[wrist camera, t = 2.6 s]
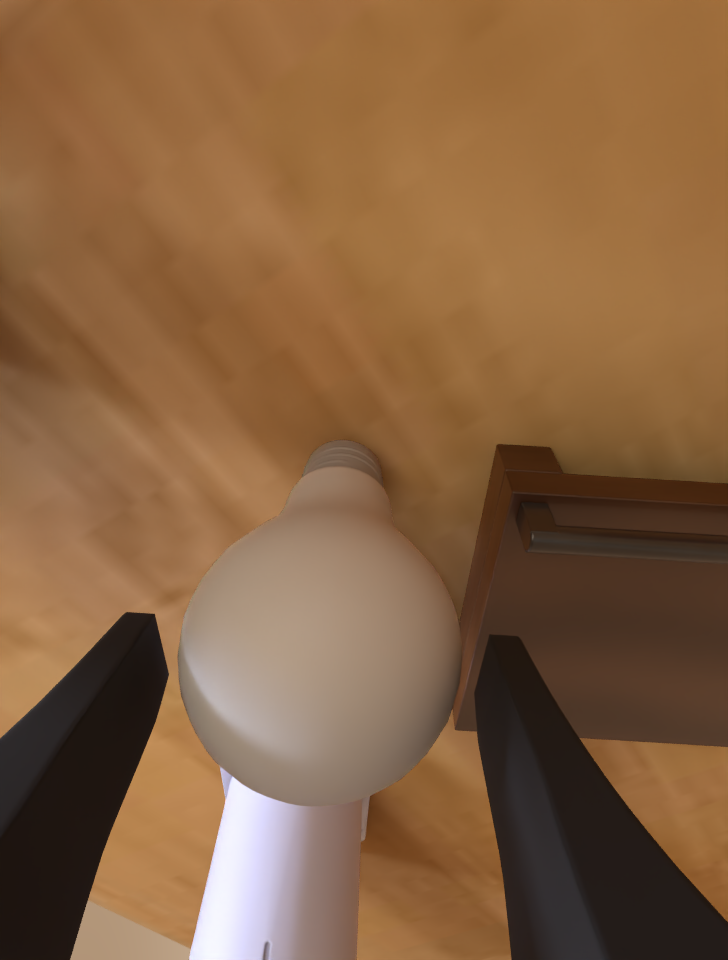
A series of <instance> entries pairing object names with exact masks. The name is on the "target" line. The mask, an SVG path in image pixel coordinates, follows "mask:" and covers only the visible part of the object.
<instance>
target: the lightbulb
mask: <svg viewBox="0 0 728 960" xmlns="http://www.w3.org/2000/svg"><path fill="white" fill-rule="evenodd" d="M461 666H462V640H461V633H460V626H459V621H458V618H457V614H456V611H455V607H454V604H453V602H452V600H451V598H450V595H449V593H448V591H447V589H446V587H445V584H444V583H443V581H442V579H441V578H440V576H439V574H438V573H437V571H436V569H435V568H434V567H433V565H432V564H431V563H430V562H429V561H428V560H427V559H426V558H425V557H424V556H423V555H422V554H421V552H420V551H419V550H418V549H417V548H416V547H415V546H414V545H413V544H412V543H411V542H410V541H409V540H408V539H407V538H406V537H405V536H404V535H403V534H402V533H401V532H399V531H398V530H397V529H396V528H395V525H394V522H393V519H392V510H391V504H390V501H389V498H388V495H387V494H386V492H385V490H384V488H383V477H382V474H381V466H380V463H379V461H378V459H377V457H376V456H375V455H374V453H373V452H372V451H371V450H369V449H368V448H367V447H365V446H364V445H362V444H360V443H357V442H354V441H349V440H335V441H331V442H327V443H325V444H323V445H321V446H320V447H318V448H317V449H316V450H315V451H314V452H313V453H312V454H311V456H310V457H309V459H308V462H307V464H306V466H305V468H304V472H303V474H302V478H301V479H300V480H299V481H298V482H297V483H296V485H295V486H294V487H293V488H292V490H291V492H290V494H289V496H288V499H287V501H286V504H285V507H284V508H283V510H282V512H281V513H280V514H279V515H278V516H276V517H274V518H272V519H270V520H268V521H266V522H265V523H263V524H262V525H260V526H259V527H257V528H256V529H254V530H253V531H251V532H250V533H248V534H247V535H245V536H244V537H242V538H241V539H239V540H238V541H236V542H235V543H233V544H232V545H230V546H229V547H228V548H227V549H226V550H225V551H224V552H223V553H222V555H221V556H220V557H219V558H218V559H217V560H216V561H215V562H214V564H213V565H212V566H211V567H210V569H209V570H208V571H207V573H206V574H205V575H204V576H203V578H202V579H201V580H200V582H199V584H198V586H197V588H196V590H195V592H194V594H193V596H192V598H191V600H190V603H189V605H188V608H187V610H186V613H185V615H184V620H183V625H182V630H181V636H180V644H179V651H178V669H179V682H180V690H181V697H182V700H183V702H184V705H185V708H186V711H187V714H188V717H189V719H190V721H191V724H192V726H193V728H194V730H195V733H196V734H197V736H198V737H199V739H200V741H201V742H202V744H203V746H204V747H205V749H206V751H207V752H208V753H209V755H210V756H211V757H212V758H213V760H214V761H215V762H216V763H217V764H218V765H219V766H220V767H222V768H223V769H224V770H225V771H226V772H228V773H229V774H230V775H231V776H233V777H234V778H235V779H236V780H238V781H239V782H240V783H241V784H243V785H244V786H246V787H248V788H249V789H251V790H253V791H255V792H257V793H259V794H261V795H264V796H266V797H269V798H272V799H275V800H278V801H281V802H285V803H288V804H294V805H299V806H310V807H312V806H329V805H338V804H345V803H349V802H353V801H358V800H360V799H363V798H366V797H368V796H371V795H373V794H375V793H377V792H379V791H381V790H383V789H385V788H386V787H388V786H390V785H392V784H393V783H395V782H397V781H399V780H400V779H402V778H403V777H404V776H405V775H406V774H407V773H408V772H409V771H411V770H412V769H413V768H414V767H415V765H416V764H417V763H418V762H419V761H420V760H421V759H422V758H423V757H424V756H425V755H426V754H427V753H428V751H429V750H430V748H431V747H432V745H433V744H434V742H435V741H436V739H437V738H438V736H439V735H440V733H441V731H442V730H443V728H444V727H445V725H446V724H447V722H448V720H449V716H450V713H451V710H452V707H453V704H454V701H455V697H456V694H457V691H458V687H459V684H460V676H461Z"/></svg>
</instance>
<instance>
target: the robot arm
mask: <svg viewBox="0 0 728 960" xmlns="http://www.w3.org/2000/svg"><path fill="white" fill-rule="evenodd" d="M168 676H169V673H168V669H167V664H166V660H165V656H164V652H163V647H162V643H161V639H160V635H159V631H158V626H157V622H156V618H155V614H147V613H131V612H126V613H125V614H124V615H122V616H121V618H120V619H119V620H118V621H117V622H116V623H115V624H114V625H113V626H112V627H111V628H110V629H109V630H108V631H107V633H106V634H105V635H104V636H103V637H102V638H101V639H100V640H99V641H98V642H97V643H96V644H95V645H94V647H93V648H92V649H91V650H90V651H89V652H88V653H87V654H86V655H85V656H84V657H83V658H82V659H81V660H80V661H79V662H78V663H77V664H76V665H75V667H74V668H73V669H72V670H71V671H70V672H69V673H68V674H67V675H66V676H65V677H64V678H63V679H62V680H61V681H60V682H59V683H58V684H57V685H56V686H55V687H54V688H53V689H52V690H51V691H50V692H49V693H48V694H47V695H46V696H45V697H44V698H43V699H42V700H41V701H40V702H39V703H38V704H37V705H36V706H35V707H34V708H32V709H31V710H30V711H29V712H28V713H27V714H26V715H25V716H24V717H23V718H22V719H21V720H20V721H19V722H17V723H16V724H15V725H14V726H13V727H12V728H11V729H10V730H9V731H8V732H7V733H6V734H5V735H3V736H2V737H1V738H0V960H70V958H71V955H72V951H73V948H74V944H75V941H76V938H77V934H78V931H79V928H80V924H81V921H82V917H83V914H84V910H85V907H86V904H87V901H88V898H89V894H90V891H91V888H92V885H93V882H94V879H95V875H96V872H97V869H98V866H99V863H100V860H101V856H102V853H103V851H104V848H105V845H106V843H107V840H108V837H109V834H110V832H111V829H112V827H113V824H114V822H115V819H116V817H117V815H118V812H119V810H120V807H121V805H122V802H123V800H124V798H125V795H126V793H127V790H128V788H129V786H130V783H131V781H132V778H133V776H134V773H135V771H136V769H137V766H138V764H139V761H140V759H141V756H142V754H143V752H144V749H145V747H146V744H147V742H148V739H149V737H150V734H151V732H152V729H153V727H154V724H155V722H156V718H157V715H158V712H159V708H160V705H161V701H162V698H163V694H164V691H165V687H166V683H167V679H168ZM474 698H475V712H476V724H477V735H478V744H479V749H480V755H481V760H482V765H483V771H484V776H485V781H486V786H487V792H488V797H489V802H490V807H491V812H492V818H493V823H494V828H495V833H496V838H497V843H498V849H499V854H500V860H501V867H502V873H503V880H504V889H505V899H506V908H507V918H508V927H509V937H510V947H511V958H512V960H728V922H727V921H726V920H725V919H724V918H723V917H722V916H721V914H720V913H719V912H718V911H717V910H716V909H715V908H714V907H713V906H712V905H711V903H710V902H709V901H708V900H707V899H706V898H705V897H704V896H703V895H702V894H701V892H700V891H699V890H698V889H697V888H696V887H695V886H694V885H693V884H692V883H691V881H690V880H689V879H688V878H687V877H686V876H685V875H684V874H683V873H682V872H681V870H680V869H679V868H678V867H677V866H676V865H675V864H674V862H673V861H672V860H671V859H670V858H669V857H668V855H667V854H666V853H665V852H664V851H663V849H662V848H661V847H660V846H659V845H658V843H657V842H656V841H655V840H654V839H653V837H652V836H651V835H650V834H649V833H648V831H647V830H646V829H645V828H644V826H643V825H642V824H641V823H640V821H639V820H638V819H637V817H636V816H635V815H634V814H633V812H632V811H631V810H630V809H629V807H628V806H627V805H626V803H625V802H624V801H623V799H622V798H621V797H620V796H619V794H618V793H617V791H616V790H615V789H614V787H613V786H612V785H611V783H610V782H609V781H608V779H607V778H606V776H605V775H604V774H603V772H602V771H601V769H600V768H599V766H598V765H597V764H596V762H595V761H594V759H593V758H592V757H591V755H590V754H589V752H588V751H587V749H586V748H585V746H584V745H583V743H582V742H581V740H580V739H579V737H578V735H577V734H576V732H575V731H574V729H573V728H572V726H571V725H570V723H569V721H568V720H567V718H566V717H565V715H564V714H563V712H562V710H561V709H560V707H559V706H558V704H557V702H556V701H555V699H554V697H553V696H552V694H551V692H550V690H549V689H548V687H547V685H546V684H545V682H544V680H543V678H542V677H541V675H540V673H539V671H538V670H537V668H536V666H535V664H534V662H533V661H532V659H531V657H530V655H529V653H528V651H527V649H526V647H525V646H524V644H523V642H522V640H521V639H520V638H519V637H518V636H509V635H492V634H489V638H488V642H487V645H486V649H485V653H484V657H483V661H482V665H481V668H480V672H479V676H478V680H477V684H476V688H475V691H474ZM220 770H221V776H222V781H223V787H224V792H225V798H226V802H225V807H224V811H223V815H222V820H221V824H220V828H219V832H218V837H217V841H216V845H215V849H214V854H213V858H212V862H211V867H210V871H209V875H208V879H207V884H206V888H205V892H204V897H203V901H202V905H201V909H200V914H199V918H198V922H197V926H196V931H195V935H194V939H193V944H192V948H191V952H190V957H189V960H357V934H358V906H359V879H360V852H361V841H363V840H364V839H365V837H366V827H367V818H368V808H369V799H370V796H368V797H366V798H363V799H360V800H358V801H353V802H349V803H345V804H338V805H329V806H312V807H310V806H299V805H294V804H288V803H285V802H281V801H278V800H275V799H272V798H269V797H266V796H264V795H261V794H259V793H257V792H255V791H253V790H251V789H249V788H248V787H246V786H244V785H243V784H241V783H240V782H239V781H238V780H236V779H235V778H234V777H233V776H231V775H230V774H229V773H228V772H226V771H225V770H224V769H223V768H222V767H220Z"/></svg>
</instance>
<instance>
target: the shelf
mask: <svg viewBox="0 0 728 960" xmlns="http://www.w3.org/2000/svg"><path fill="white" fill-rule="evenodd" d="M459 626H460V633H461V640H462V666H461V676H460V684H459V687H458V691H457V694H456V697H455V701H454V704H453V707H452V708H453V717H454V726H455V730H459V731H475V732H477V724H476V712H475V698H474V691H475V688H476V684H477V680H478V676H479V672H480V668H481V665H482V661H483V657H484V653H485V649H486V645H487V642H488V638H489V634H492V635H509V636H518V637H519V638H520V639H521V640H522V642H523V644H524V646H525V647H526V649H527V651H528V653H529V655H530V657H531V659H532V661H533V662H534V664H535V666H536V668H537V670H538V671H539V673H540V675H541V677H542V678H543V680H544V682H545V684H546V685H547V687H548V689H549V690H550V692H551V694H552V696H553V697H554V699H555V701H556V702H557V704H558V706H559V707H560V709H561V710H562V712H563V714H564V715H565V717H566V718H567V720H568V721H569V723H570V725H571V726H572V728H573V729H574V731H575V732H576V734H577V735H578V737H579V738H590V739H606V740H622V741H639V742H655V743H671V744H688V745H704V746H721V747H728V484H725V483H708V482H691V481H675V480H658V479H641V478H625V477H608V476H591V475H574V474H563V473H562V470H561V468H560V466H559V464H558V462H557V460H556V458H555V456H554V454H553V452H552V450H551V448H550V447H536V446H520V445H503V444H498V445H497V447H496V451H495V456H494V461H493V466H492V470H491V475H490V480H489V485H488V489H487V494H486V499H485V504H484V509H483V513H482V518H481V523H480V528H479V532H478V537H477V542H476V547H475V551H474V556H473V561H472V566H471V570H470V575H469V580H468V585H467V589H466V594H465V599H464V604H463V608H462V613H461V618H460V623H459Z"/></svg>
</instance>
